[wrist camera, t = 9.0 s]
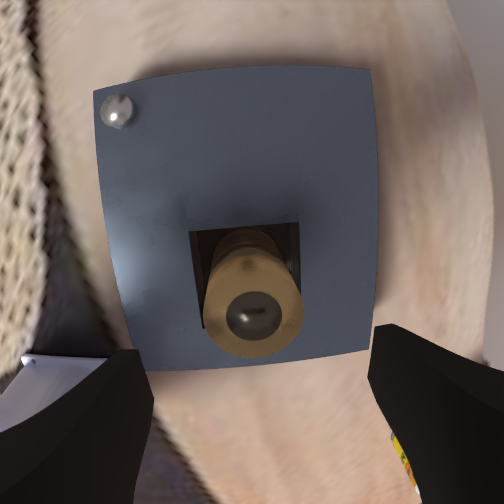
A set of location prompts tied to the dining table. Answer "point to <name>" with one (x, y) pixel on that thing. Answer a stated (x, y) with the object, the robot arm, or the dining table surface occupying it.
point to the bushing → (251, 296)
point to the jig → (240, 199)
